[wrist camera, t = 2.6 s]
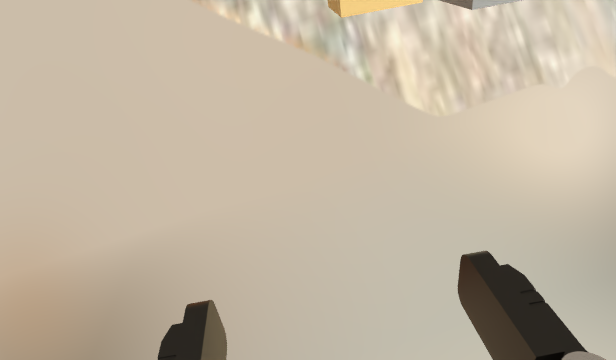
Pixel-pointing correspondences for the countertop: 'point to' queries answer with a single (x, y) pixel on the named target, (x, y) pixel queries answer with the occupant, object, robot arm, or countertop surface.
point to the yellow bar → (365, 6)
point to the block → (478, 3)
